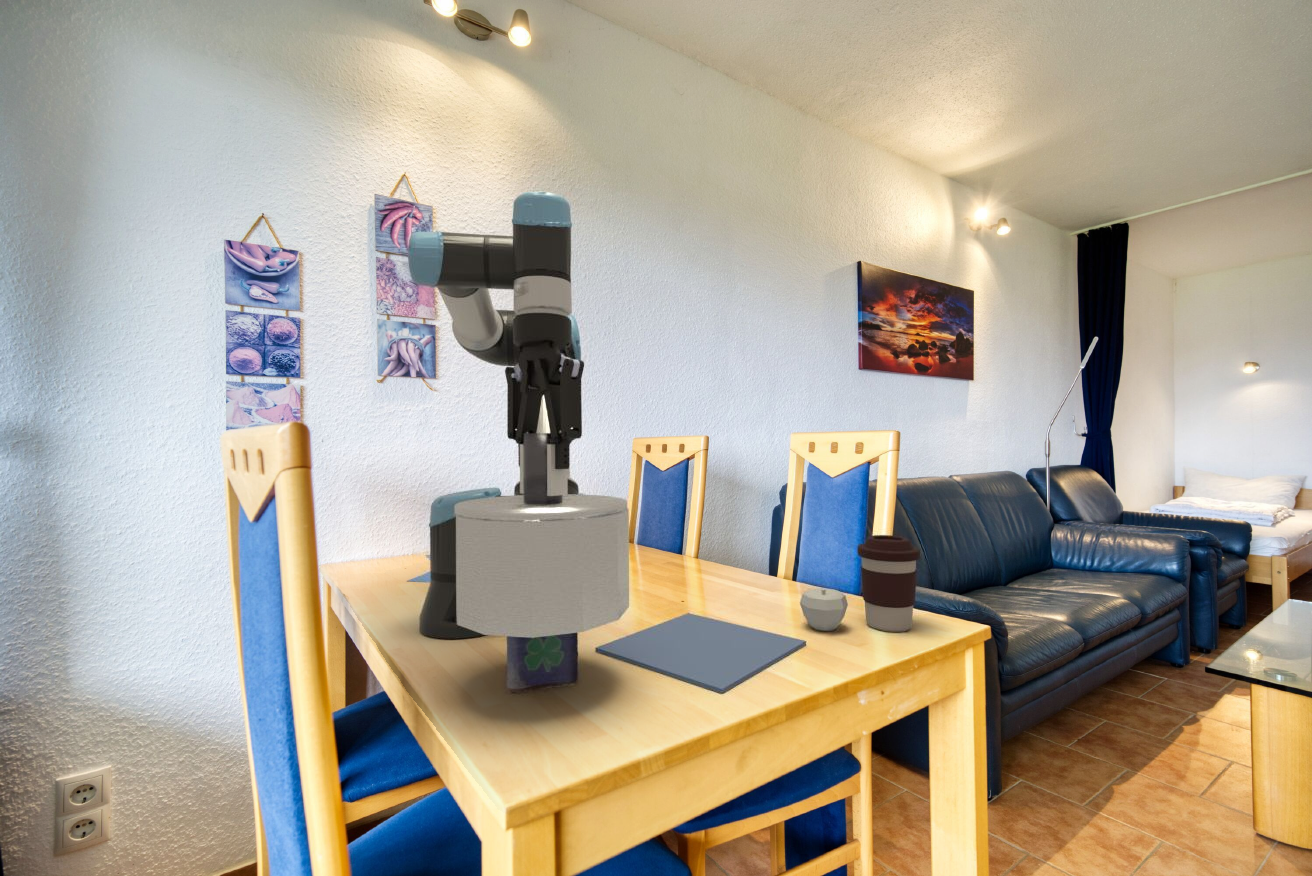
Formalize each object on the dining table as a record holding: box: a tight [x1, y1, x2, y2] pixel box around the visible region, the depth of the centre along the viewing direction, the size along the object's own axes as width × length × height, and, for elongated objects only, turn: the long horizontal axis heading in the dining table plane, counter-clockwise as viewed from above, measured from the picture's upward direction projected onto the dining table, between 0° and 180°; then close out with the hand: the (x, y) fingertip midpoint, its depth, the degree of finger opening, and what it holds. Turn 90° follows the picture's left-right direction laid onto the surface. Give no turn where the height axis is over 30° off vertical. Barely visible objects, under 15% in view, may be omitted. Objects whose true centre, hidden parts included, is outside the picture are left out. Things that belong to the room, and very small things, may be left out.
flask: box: [506, 632, 579, 694], centre depth 77 cm, size 9×3×11 cm, turn 109°
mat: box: [595, 612, 807, 694], centre depth 91 cm, size 23×23×1 cm
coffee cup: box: [857, 534, 921, 633], centre depth 101 cm, size 10×10×15 cm
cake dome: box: [454, 433, 630, 638], centre depth 77 cm, size 22×22×23 cm
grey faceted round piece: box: [799, 587, 849, 632], centre depth 100 cm, size 8×8×7 cm
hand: (543, 493), depth 77 cm, fingers closed on cake dome, 5 cm apart
